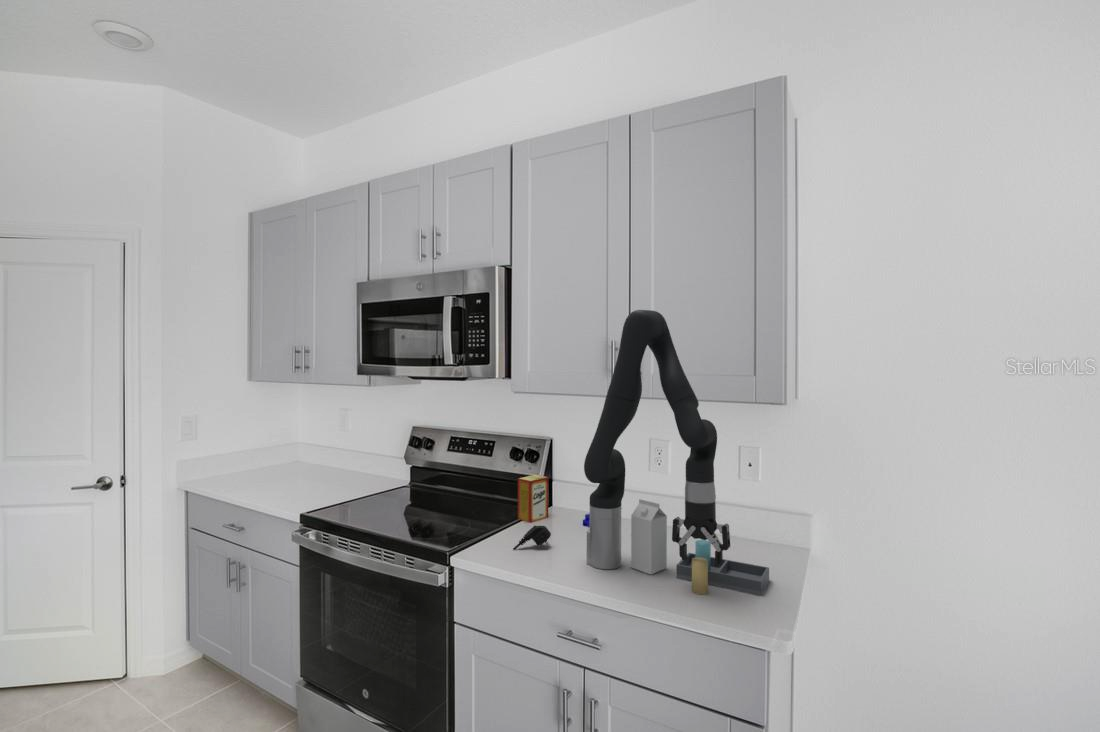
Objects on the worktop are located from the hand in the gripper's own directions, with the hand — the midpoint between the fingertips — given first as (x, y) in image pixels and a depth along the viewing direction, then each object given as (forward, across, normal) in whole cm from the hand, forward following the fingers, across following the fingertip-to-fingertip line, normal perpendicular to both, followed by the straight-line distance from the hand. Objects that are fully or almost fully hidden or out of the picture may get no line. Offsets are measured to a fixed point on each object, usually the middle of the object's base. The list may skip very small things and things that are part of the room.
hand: (700, 562), depth 139 cm
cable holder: (+7, -48, +35) cm, 60 cm away
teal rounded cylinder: (+6, -3, +11) cm, 13 cm away
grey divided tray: (+8, +2, +11) cm, 14 cm away
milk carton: (+7, -17, +8) cm, 20 cm away
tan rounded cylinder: (+8, 0, 0) cm, 8 cm away
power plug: (+9, -57, +1) cm, 58 cm away
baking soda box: (+6, -72, +31) cm, 78 cm away
